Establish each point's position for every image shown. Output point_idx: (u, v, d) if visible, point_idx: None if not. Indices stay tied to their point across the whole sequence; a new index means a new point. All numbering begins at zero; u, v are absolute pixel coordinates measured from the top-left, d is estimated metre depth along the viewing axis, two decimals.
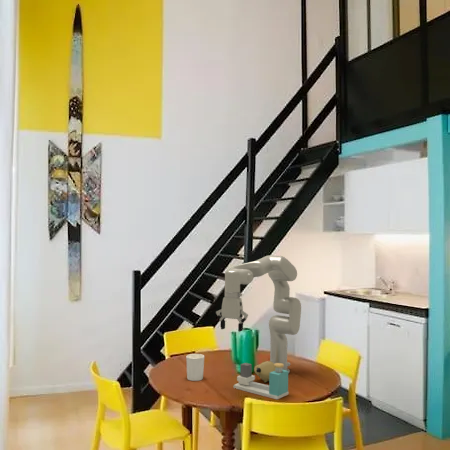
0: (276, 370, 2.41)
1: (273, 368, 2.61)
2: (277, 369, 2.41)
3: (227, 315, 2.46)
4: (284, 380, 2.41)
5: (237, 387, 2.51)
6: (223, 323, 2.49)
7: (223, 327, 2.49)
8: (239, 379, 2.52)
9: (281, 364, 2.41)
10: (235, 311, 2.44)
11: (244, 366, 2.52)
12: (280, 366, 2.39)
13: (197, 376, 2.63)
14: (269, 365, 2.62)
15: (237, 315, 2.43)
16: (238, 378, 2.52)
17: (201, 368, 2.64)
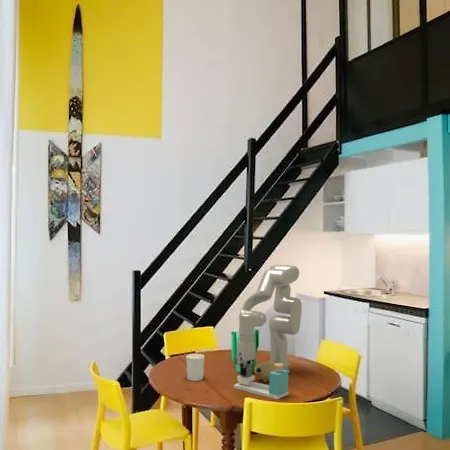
0: (276, 370, 2.41)
1: (273, 368, 2.61)
2: (277, 369, 2.41)
3: (248, 358, 2.51)
4: (284, 380, 2.41)
5: (237, 387, 2.51)
6: None
7: None
8: (239, 379, 2.52)
9: (281, 364, 2.41)
10: (253, 352, 2.55)
11: None
12: (280, 366, 2.39)
13: (197, 376, 2.63)
14: (269, 365, 2.62)
15: (254, 355, 2.56)
16: (238, 378, 2.52)
17: (201, 368, 2.64)
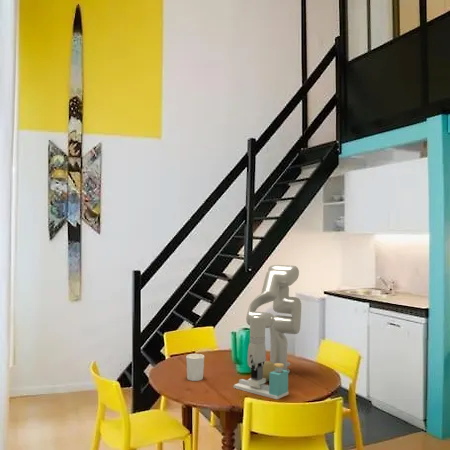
0: (276, 370, 2.41)
1: (273, 368, 2.61)
2: (277, 369, 2.41)
3: (259, 360, 2.47)
4: (284, 380, 2.41)
5: (237, 387, 2.51)
6: None
7: None
8: (250, 382, 2.48)
9: (281, 364, 2.41)
10: (264, 354, 2.51)
11: None
12: (280, 366, 2.39)
13: (197, 376, 2.63)
14: (269, 365, 2.62)
15: (265, 357, 2.51)
16: (249, 381, 2.48)
17: (201, 368, 2.64)
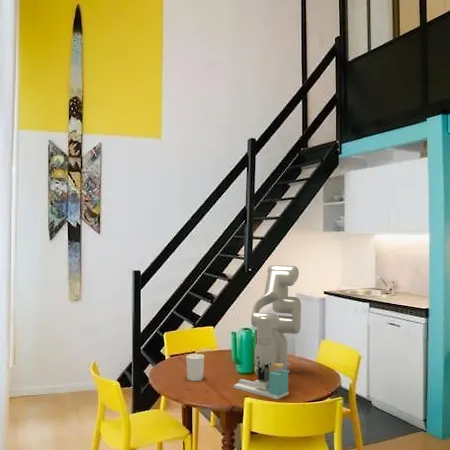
0: (276, 370, 2.41)
1: (273, 368, 2.61)
2: (277, 369, 2.41)
3: (266, 362, 2.45)
4: (284, 380, 2.41)
5: (237, 387, 2.51)
6: None
7: None
8: (257, 383, 2.45)
9: (281, 364, 2.41)
10: (271, 355, 2.48)
11: None
12: (280, 366, 2.39)
13: (197, 376, 2.63)
14: None
15: (272, 359, 2.49)
16: (256, 382, 2.45)
17: (201, 368, 2.64)
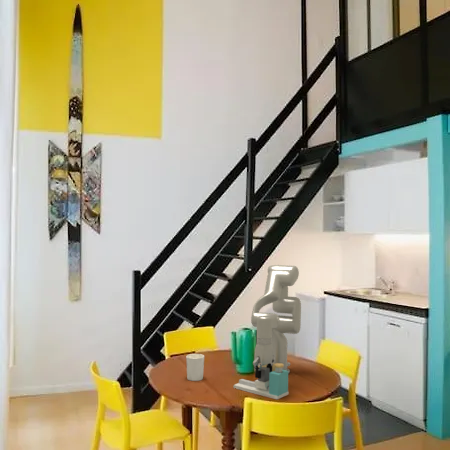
0: (276, 370, 2.41)
1: (273, 368, 2.61)
2: (277, 369, 2.41)
3: (266, 362, 2.45)
4: (284, 380, 2.41)
5: (237, 387, 2.51)
6: None
7: None
8: (257, 383, 2.45)
9: (281, 364, 2.41)
10: (271, 355, 2.48)
11: (262, 370, 2.45)
12: (280, 366, 2.39)
13: (197, 376, 2.63)
14: None
15: (272, 359, 2.49)
16: (256, 382, 2.45)
17: (201, 368, 2.64)
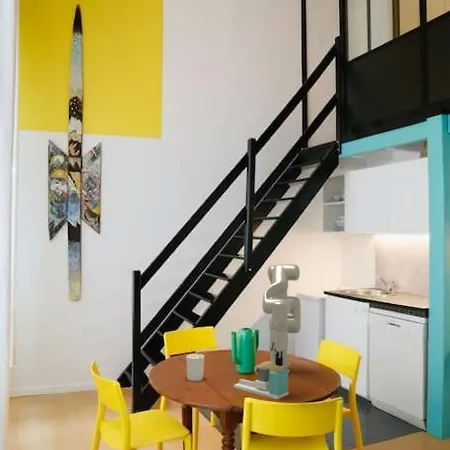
0: (276, 371, 2.41)
1: (273, 368, 2.61)
2: (277, 370, 2.41)
3: (281, 348, 2.39)
4: (284, 380, 2.41)
5: (237, 387, 2.51)
6: None
7: None
8: (257, 383, 2.45)
9: None
10: (286, 342, 2.43)
11: (262, 370, 2.45)
12: (280, 367, 2.39)
13: (197, 376, 2.63)
14: (269, 365, 2.62)
15: (287, 345, 2.43)
16: (256, 382, 2.45)
17: (201, 368, 2.64)
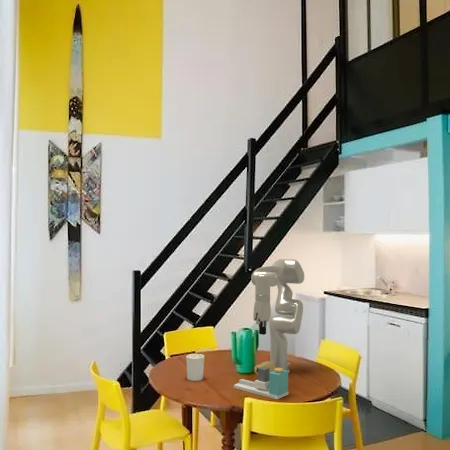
0: None
1: (273, 368, 2.61)
2: None
3: (265, 318, 2.52)
4: (284, 380, 2.41)
5: (237, 387, 2.51)
6: None
7: None
8: (257, 383, 2.45)
9: (281, 369, 2.41)
10: (269, 312, 2.56)
11: (262, 370, 2.45)
12: (280, 371, 2.39)
13: (197, 376, 2.63)
14: (269, 365, 2.62)
15: (270, 315, 2.57)
16: (256, 382, 2.45)
17: (201, 368, 2.64)
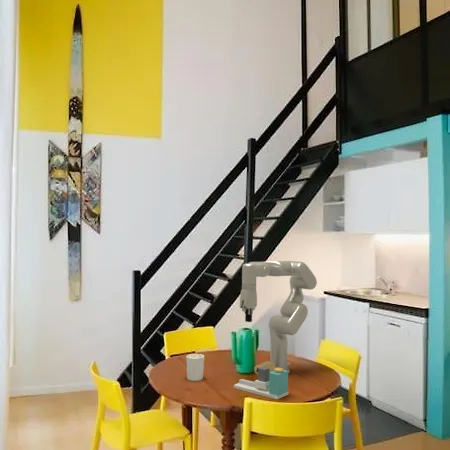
0: None
1: (273, 368, 2.61)
2: None
3: (250, 306, 2.63)
4: (284, 380, 2.41)
5: (237, 387, 2.51)
6: None
7: None
8: (257, 383, 2.45)
9: (281, 369, 2.41)
10: (255, 300, 2.66)
11: (262, 370, 2.45)
12: (280, 371, 2.39)
13: (197, 376, 2.63)
14: (270, 365, 2.62)
15: (256, 304, 2.67)
16: (256, 382, 2.45)
17: (201, 368, 2.64)
